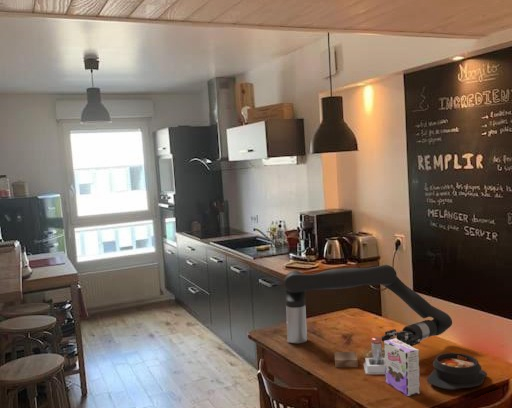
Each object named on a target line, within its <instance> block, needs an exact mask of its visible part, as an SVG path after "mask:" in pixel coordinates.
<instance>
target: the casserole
mask: <svg viewBox="0 0 512 408" xmlns="http://www.w3.org/2000/svg"><path fill="white" fill-rule="evenodd" d="M432 366H433V367H434V369H433V370H432V371H431V373H430V375H429V376H427V378H426V382H427V383H429V384H430V385H432V386H434V387H437V388H439V389H444V390H449V391H451V390H458V389H469V388H474V387H477V386H480V385H482V384H483V383H484V381H485V378H486V376H488V373H487V372H486V371H485V370H483V369H482V366H481V365H480V363H479V361H478V359H477V358H476V357H474V356H472V355H469V354H464V353H460V352H457V353H456V352H447V353H441V354H438V355H437V356H436V357H435V359H434V361H433V362H432Z"/></svg>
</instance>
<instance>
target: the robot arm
mask: <svg viewBox="0 0 512 408" xmlns="http://www.w3.org/2000/svg"><path fill="white" fill-rule="evenodd" d="M283 284H284V288H285V308H286V309H285V310H286V311H285V312H286V313H285V314H286V336H287V337H286V338H287V339H286V340H287V343H291V344H304V343H307V341H308V335H307V334H308V333H307V332H308V331H307V326H308V325H307V313H306V312H307V311H306V306H307V305H306V292H308V291H314V290H339V289H340V290H342V289H349V288H357V287H359V286H364V285H365V286H366V285H381V286H383V287H384V288H386V289H388V290H389V291H391V292H392V293H394V294H395V295H396V296H397V297H399V299H401V301H403V302H404V303H405V304H406V305H407V306H408V307H409V308H410V309H412V311H414V312H415V313H416V314H417V315H418V316H419V317H420V318H422V319H424V320H422V321H419V322H414V323H412V324H408V325H406V326H404V327H403V328H402V330H399V331H397V329H396V328H395V329H390V330H386V331H385V332H384V335H382V336H381V341H382V342H383V343H384V341H386V340H390V339H395V338H396V339H398V340H400V341H402V342H404V343H406V344H408V345H410V346H412V347H414V346H416V345H418V344H420V343H421V341H423V340H425V339H427V338H430V337H435V336H440V335H442V334H443V333H445V332H446V331H448V329H450V328H451V327H452V326H453V319H452V318H451V316H450V315H449V314H448V313H446V312H445V311H443V310H441V309H439V308H438V307H435V306H433V305H432V304H430V303H429V302H428V301H427V300H426V299H425V298H424V297H423V296H422V295H420V294H419V293H417V292H416V291H414V290H412V288H411V287H408V286H407V285H406V284H405V283H404V282H403V281H402V280H401V279H400V278H399V277H398V274H397V272H396V269H395V268H394V267H393V266H391V265H388V264H382V265H378V266H373V267H365V268H364V267H363V268H359V267H358V268H357V267H353V268H352V267H347V268H345V267H343V268H332V269H328V270H324V271H321V272H317V273H312V274H311V273H309V274H307V273H306V274H304V273H302V272H301V271H299V270H291V271H289V272H288V273H287V274H286V276H285V278H284V283H283ZM429 317H430V318H432V319H427V318H429Z"/></svg>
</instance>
